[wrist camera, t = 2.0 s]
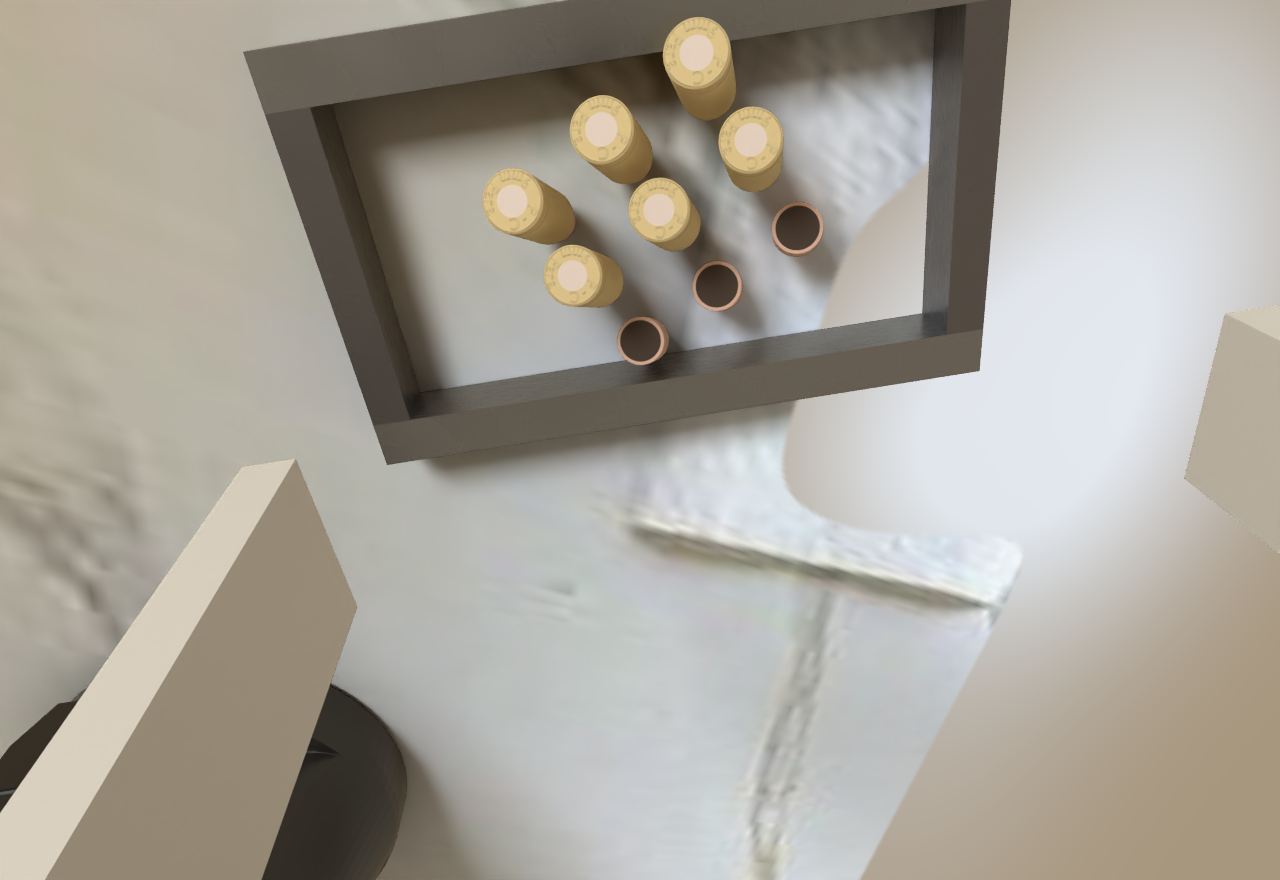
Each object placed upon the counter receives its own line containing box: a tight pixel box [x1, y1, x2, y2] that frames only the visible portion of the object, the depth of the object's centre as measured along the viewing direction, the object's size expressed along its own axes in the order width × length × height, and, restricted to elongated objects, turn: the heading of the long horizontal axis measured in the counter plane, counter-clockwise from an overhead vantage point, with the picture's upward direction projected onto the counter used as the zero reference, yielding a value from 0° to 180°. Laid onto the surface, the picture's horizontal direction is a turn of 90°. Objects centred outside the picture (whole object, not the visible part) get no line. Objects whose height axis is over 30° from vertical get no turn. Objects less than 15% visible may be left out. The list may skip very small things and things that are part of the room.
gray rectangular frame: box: [243, 0, 1011, 465], centre depth 24 cm, size 12×20×2 cm, turn 98°
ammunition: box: [482, 17, 823, 365], centre depth 23 cm, size 5×7×8 cm
